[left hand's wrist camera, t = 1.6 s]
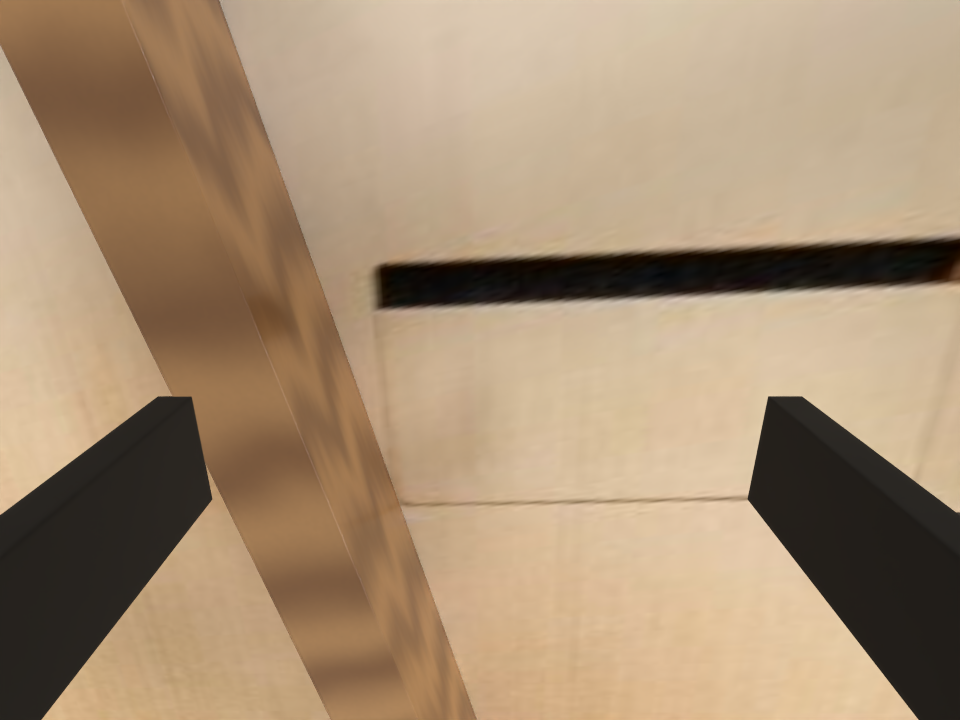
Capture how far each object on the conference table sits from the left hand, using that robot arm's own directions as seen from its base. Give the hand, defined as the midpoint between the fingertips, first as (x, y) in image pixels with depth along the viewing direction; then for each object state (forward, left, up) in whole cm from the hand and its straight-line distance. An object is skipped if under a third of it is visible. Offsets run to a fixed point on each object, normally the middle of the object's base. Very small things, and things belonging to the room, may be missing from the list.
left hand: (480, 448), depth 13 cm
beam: (+15, 0, -18) cm, 24 cm away
